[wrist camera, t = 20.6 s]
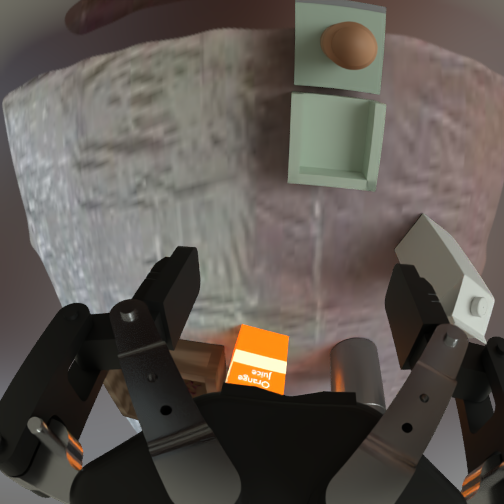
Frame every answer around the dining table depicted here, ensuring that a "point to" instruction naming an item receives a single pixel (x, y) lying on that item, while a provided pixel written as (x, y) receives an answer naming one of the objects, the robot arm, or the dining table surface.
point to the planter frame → (189, 365)
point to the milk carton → (448, 276)
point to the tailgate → (313, 58)
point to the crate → (335, 140)
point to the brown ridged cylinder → (349, 45)
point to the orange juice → (259, 359)
